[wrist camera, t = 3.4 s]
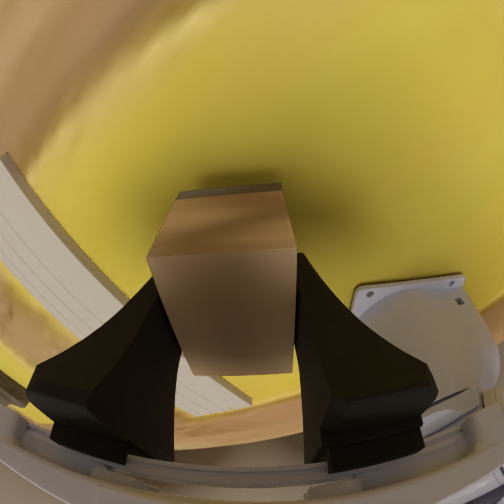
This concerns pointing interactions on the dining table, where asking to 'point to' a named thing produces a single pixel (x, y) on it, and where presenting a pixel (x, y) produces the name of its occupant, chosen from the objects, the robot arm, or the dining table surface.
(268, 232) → the block
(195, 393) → the baseboard
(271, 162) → the dining table surface
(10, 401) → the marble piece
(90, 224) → the dining table surface
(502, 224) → the dining table surface
